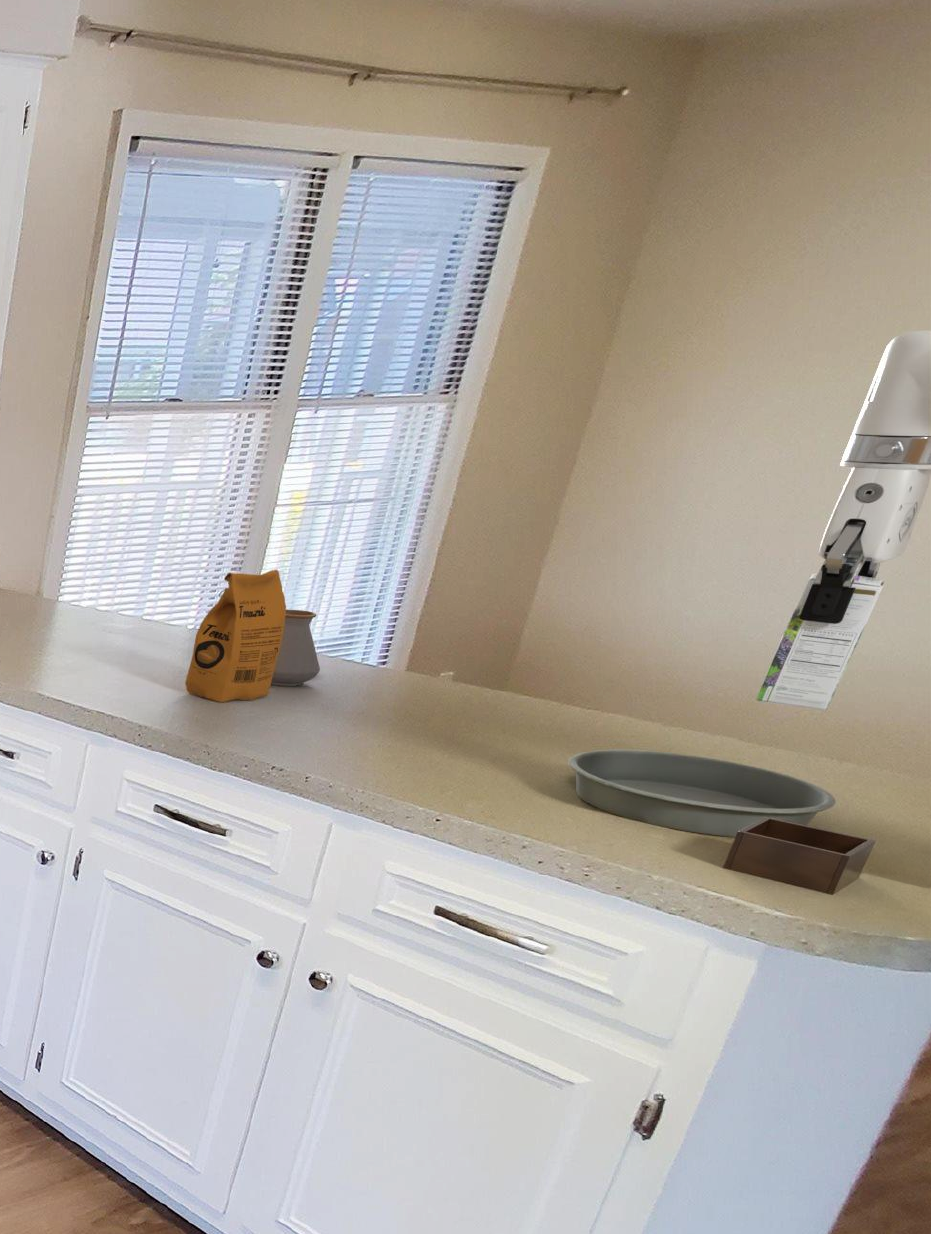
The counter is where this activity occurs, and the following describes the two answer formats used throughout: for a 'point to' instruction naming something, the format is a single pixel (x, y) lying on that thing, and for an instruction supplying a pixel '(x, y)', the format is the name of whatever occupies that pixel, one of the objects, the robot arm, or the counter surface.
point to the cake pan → (692, 791)
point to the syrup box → (817, 651)
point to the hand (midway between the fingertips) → (830, 616)
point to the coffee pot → (296, 651)
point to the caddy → (799, 855)
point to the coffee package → (239, 640)
